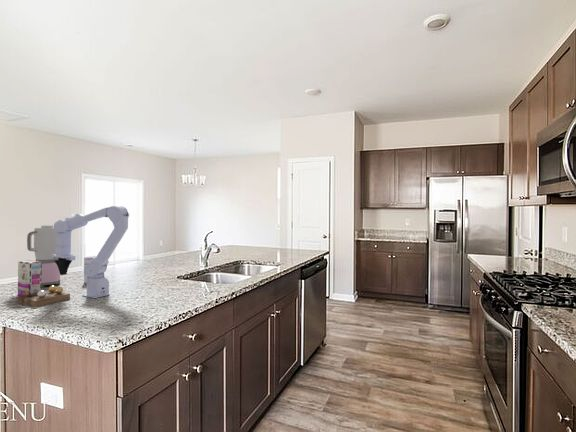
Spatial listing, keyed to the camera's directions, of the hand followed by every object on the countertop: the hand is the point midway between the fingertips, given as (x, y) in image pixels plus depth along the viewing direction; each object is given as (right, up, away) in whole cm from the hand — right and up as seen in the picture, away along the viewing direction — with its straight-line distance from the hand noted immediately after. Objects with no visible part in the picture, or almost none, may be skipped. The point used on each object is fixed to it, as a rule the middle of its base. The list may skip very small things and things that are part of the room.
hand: (63, 274), depth 156 cm
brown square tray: (-2, -10, -10) cm, 14 cm away
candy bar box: (-14, -10, -3) cm, 17 cm away
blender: (-24, -10, +20) cm, 33 cm away
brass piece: (+3, -6, -7) cm, 9 cm away
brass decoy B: (-2, -6, -5) cm, 8 cm away
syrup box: (-5, -10, +31) cm, 33 cm away
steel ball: (0, -6, -14) cm, 15 cm away
